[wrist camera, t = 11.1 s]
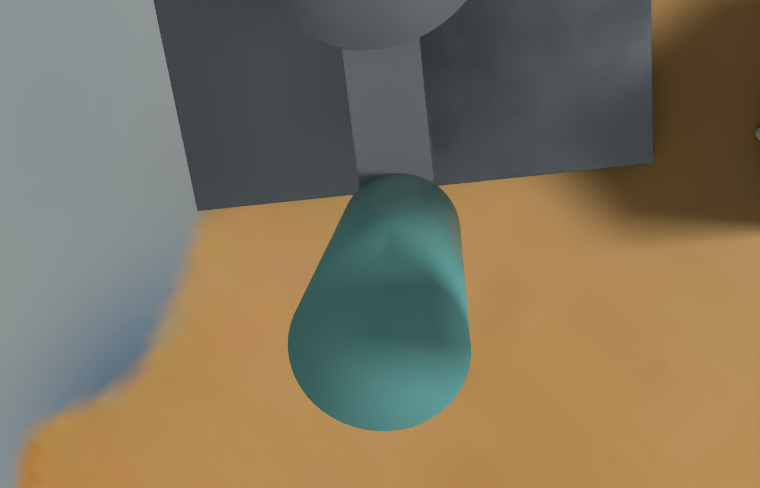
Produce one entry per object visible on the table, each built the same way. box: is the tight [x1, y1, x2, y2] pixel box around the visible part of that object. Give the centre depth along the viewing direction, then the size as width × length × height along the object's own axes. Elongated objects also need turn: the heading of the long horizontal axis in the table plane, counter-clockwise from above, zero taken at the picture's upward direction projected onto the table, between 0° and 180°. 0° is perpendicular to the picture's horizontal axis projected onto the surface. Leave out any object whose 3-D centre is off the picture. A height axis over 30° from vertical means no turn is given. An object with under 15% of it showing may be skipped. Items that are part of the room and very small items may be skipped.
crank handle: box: [265, 0, 471, 431], centre depth 19 cm, size 8×16×12 cm, turn 7°
